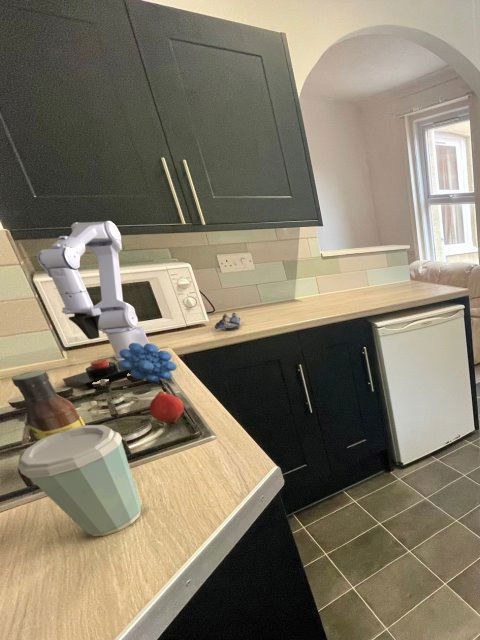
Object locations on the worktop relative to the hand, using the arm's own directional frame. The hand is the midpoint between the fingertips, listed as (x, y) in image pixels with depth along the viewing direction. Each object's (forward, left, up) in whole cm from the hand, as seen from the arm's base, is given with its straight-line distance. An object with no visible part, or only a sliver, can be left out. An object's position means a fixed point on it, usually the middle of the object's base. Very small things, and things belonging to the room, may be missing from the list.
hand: (94, 338), depth 125 cm
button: (+2, +8, -7) cm, 11 cm away
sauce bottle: (+13, +68, -11) cm, 70 cm away
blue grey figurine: (-41, -22, -11) cm, 48 cm away
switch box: (+2, +8, -10) cm, 13 cm away
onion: (-3, +59, -11) cm, 60 cm away
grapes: (-7, +26, -11) cm, 29 cm away
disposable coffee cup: (+12, +92, -11) cm, 94 cm away
